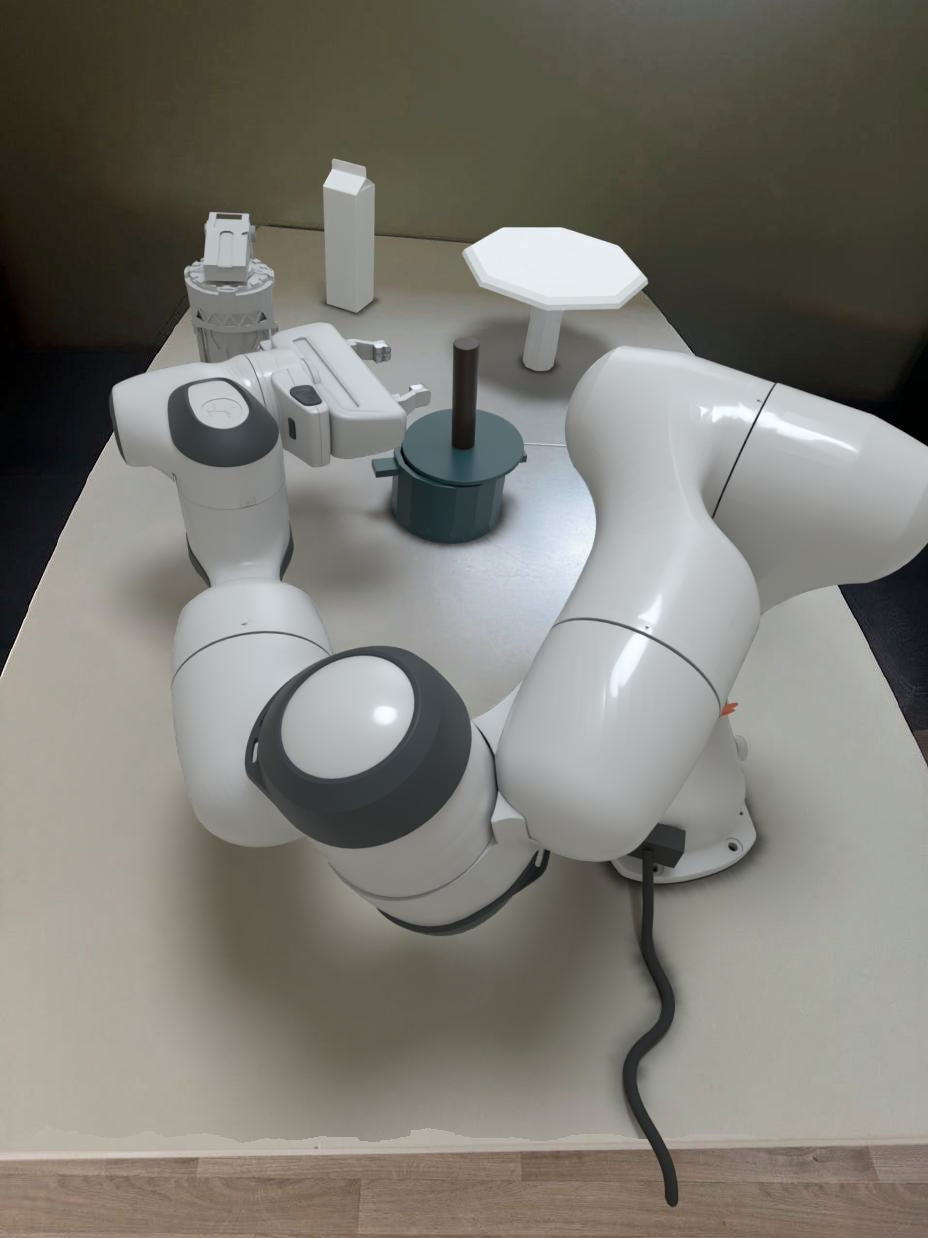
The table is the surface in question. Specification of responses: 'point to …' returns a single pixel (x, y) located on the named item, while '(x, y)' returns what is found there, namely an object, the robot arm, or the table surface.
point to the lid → (463, 432)
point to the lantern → (230, 292)
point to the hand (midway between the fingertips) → (407, 371)
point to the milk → (349, 236)
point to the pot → (440, 502)
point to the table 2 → (553, 279)
